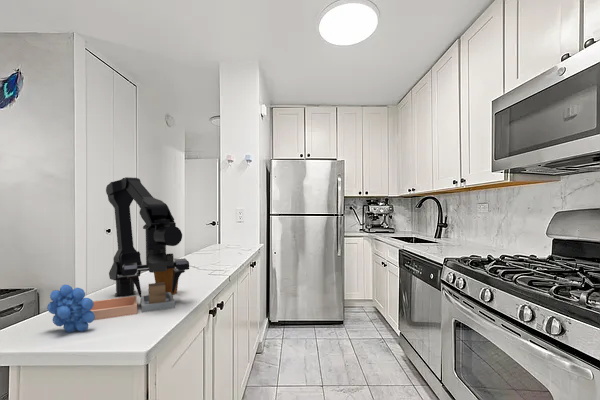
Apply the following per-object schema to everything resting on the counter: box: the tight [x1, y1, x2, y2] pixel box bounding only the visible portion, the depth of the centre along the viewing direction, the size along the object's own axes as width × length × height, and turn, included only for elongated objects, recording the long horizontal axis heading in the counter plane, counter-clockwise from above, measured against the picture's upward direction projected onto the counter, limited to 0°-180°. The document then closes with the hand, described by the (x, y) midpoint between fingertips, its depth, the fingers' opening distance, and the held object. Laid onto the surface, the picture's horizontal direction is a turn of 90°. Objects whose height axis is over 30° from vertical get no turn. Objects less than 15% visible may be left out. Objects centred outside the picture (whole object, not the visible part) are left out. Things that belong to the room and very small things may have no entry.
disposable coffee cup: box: [153, 257, 179, 296], centre depth 122 cm, size 10×10×12 cm
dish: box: [90, 295, 138, 321], centre depth 102 cm, size 12×15×3 cm
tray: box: [140, 292, 176, 313], centre depth 108 cm, size 12×9×2 cm
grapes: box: [46, 284, 95, 333], centre depth 86 cm, size 12×7×12 cm, turn 88°
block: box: [148, 282, 166, 304], centre depth 108 cm, size 4×4×6 cm
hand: (157, 294), depth 108 cm, fingers open, 9 cm apart
